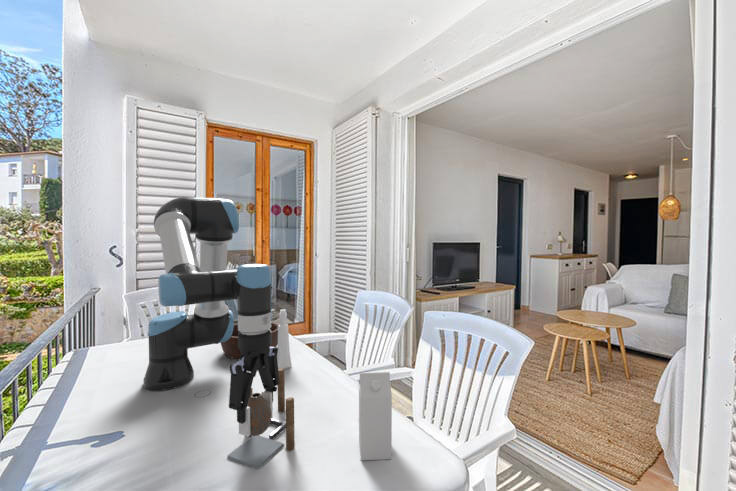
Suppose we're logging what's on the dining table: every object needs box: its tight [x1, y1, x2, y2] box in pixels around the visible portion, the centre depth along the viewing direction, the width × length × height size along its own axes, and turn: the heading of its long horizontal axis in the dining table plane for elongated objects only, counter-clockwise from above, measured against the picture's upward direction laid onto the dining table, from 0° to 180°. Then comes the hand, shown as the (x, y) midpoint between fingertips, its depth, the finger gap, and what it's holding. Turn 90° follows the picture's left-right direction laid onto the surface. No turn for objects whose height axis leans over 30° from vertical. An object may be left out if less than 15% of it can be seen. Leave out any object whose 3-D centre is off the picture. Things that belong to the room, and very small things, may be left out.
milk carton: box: [358, 371, 393, 461], centre depth 81 cm, size 7×7×19 cm
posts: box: [245, 369, 296, 452], centre depth 91 cm, size 15×15×12 cm
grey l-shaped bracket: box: [268, 418, 286, 440], centre depth 90 cm, size 10×6×1 cm, turn 66°
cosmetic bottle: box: [277, 308, 293, 370], centre depth 132 cm, size 6×6×22 cm
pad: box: [226, 435, 284, 470], centre depth 81 cm, size 9×9×1 cm
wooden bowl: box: [220, 321, 279, 361], centre depth 148 cm, size 25×25×10 cm
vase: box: [247, 392, 271, 437], centre depth 81 cm, size 7×7×9 cm
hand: (256, 425), depth 81 cm, fingers closed on vase, 7 cm apart
